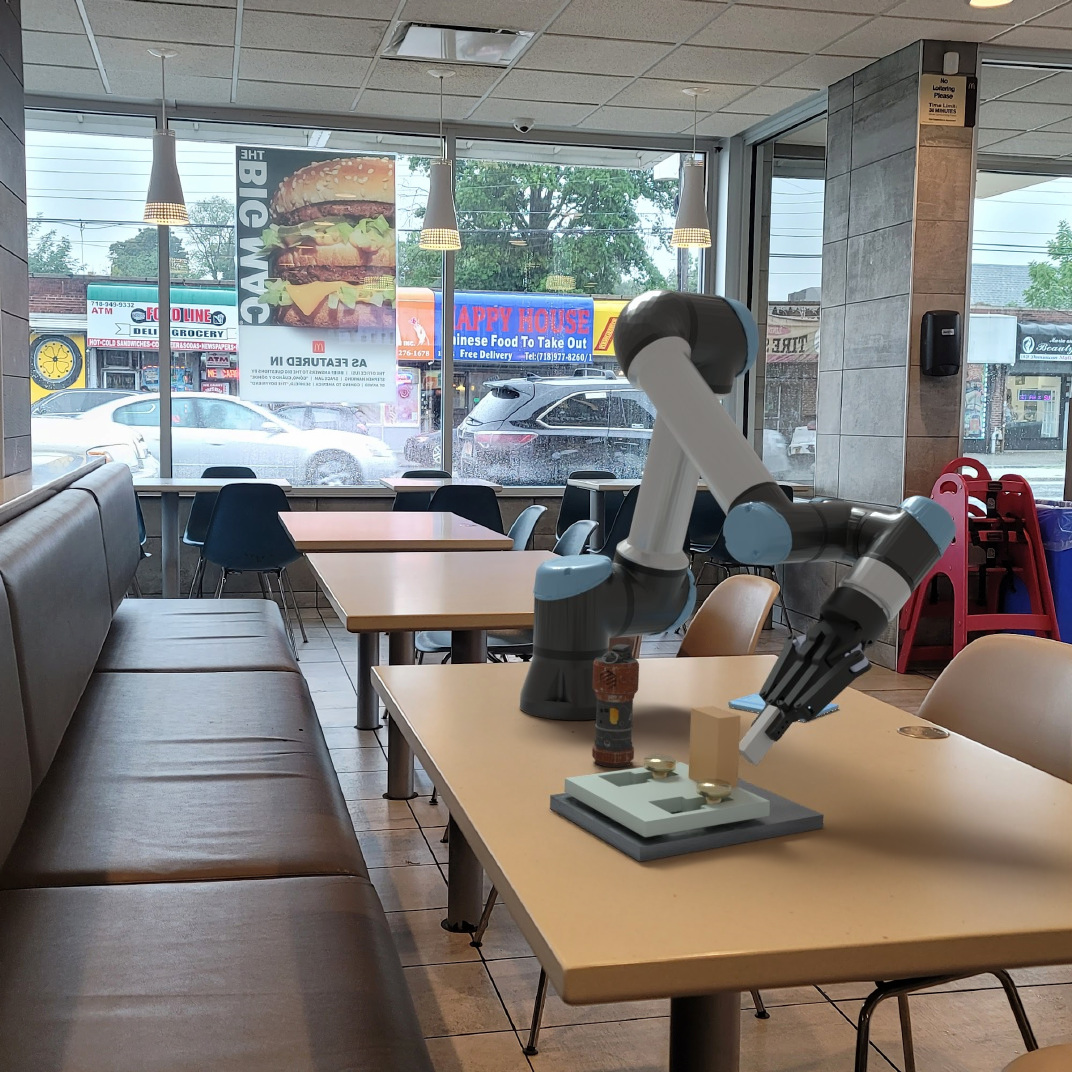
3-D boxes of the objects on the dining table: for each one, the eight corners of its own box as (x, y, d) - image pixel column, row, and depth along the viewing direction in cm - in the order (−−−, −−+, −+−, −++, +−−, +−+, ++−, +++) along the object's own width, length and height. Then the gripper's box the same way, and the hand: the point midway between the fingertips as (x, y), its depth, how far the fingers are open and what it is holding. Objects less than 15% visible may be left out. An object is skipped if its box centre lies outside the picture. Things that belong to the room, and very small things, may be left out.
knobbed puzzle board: (564, 791, 129) (567, 707, 128) (680, 775, 137) (683, 695, 136) (644, 837, 115) (648, 743, 114) (769, 815, 123) (773, 727, 122)
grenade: (646, 757, 152) (650, 644, 150) (625, 772, 145) (629, 654, 143) (604, 751, 154) (608, 640, 153) (582, 765, 147) (586, 649, 146)
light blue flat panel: (725, 709, 182) (725, 701, 182) (762, 698, 191) (763, 690, 191) (802, 725, 173) (803, 716, 173) (838, 712, 182) (838, 704, 182)
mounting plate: (550, 808, 130) (551, 762, 129) (720, 782, 141) (722, 740, 141) (639, 861, 114) (641, 809, 114) (822, 828, 126) (825, 780, 125)
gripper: (919, 634, 133) (801, 793, 127) (840, 617, 145) (728, 762, 138) (888, 590, 130) (765, 750, 124) (810, 576, 142) (693, 722, 135)
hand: (746, 756), depth 131 cm, fingers closed
